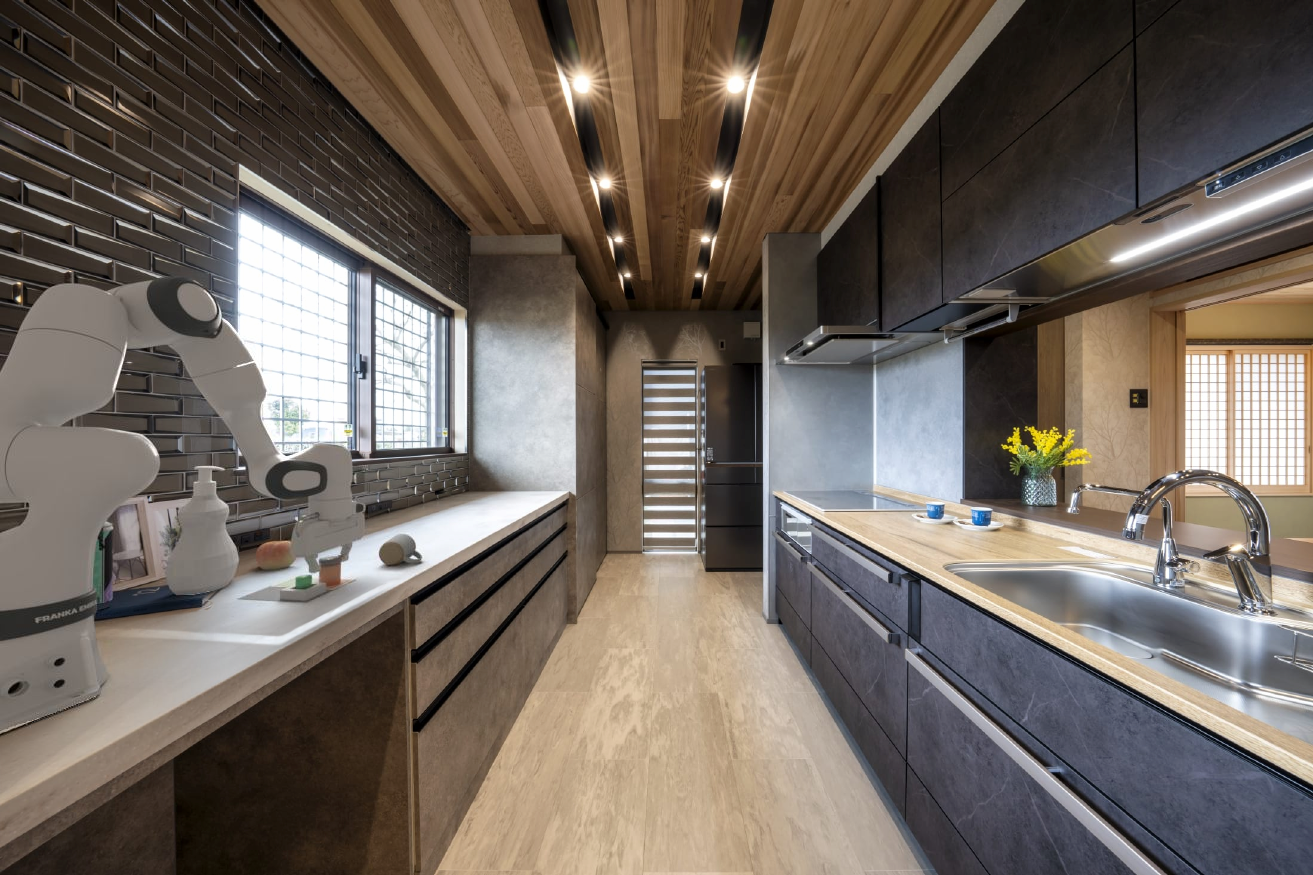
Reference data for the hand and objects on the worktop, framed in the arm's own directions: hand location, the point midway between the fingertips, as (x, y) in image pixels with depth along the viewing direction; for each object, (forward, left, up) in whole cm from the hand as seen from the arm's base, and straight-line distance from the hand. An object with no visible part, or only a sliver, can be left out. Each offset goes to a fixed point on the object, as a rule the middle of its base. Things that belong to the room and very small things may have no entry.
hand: (329, 566), depth 117 cm
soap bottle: (-6, +26, -6) cm, 27 cm away
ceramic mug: (+24, -4, -6) cm, 25 cm away
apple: (+12, +24, -6) cm, 27 cm away
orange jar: (0, 0, -4) cm, 4 cm away
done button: (-8, 0, -2) cm, 8 cm away
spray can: (-18, +38, -6) cm, 42 cm away
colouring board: (-4, +4, -6) cm, 8 cm away
